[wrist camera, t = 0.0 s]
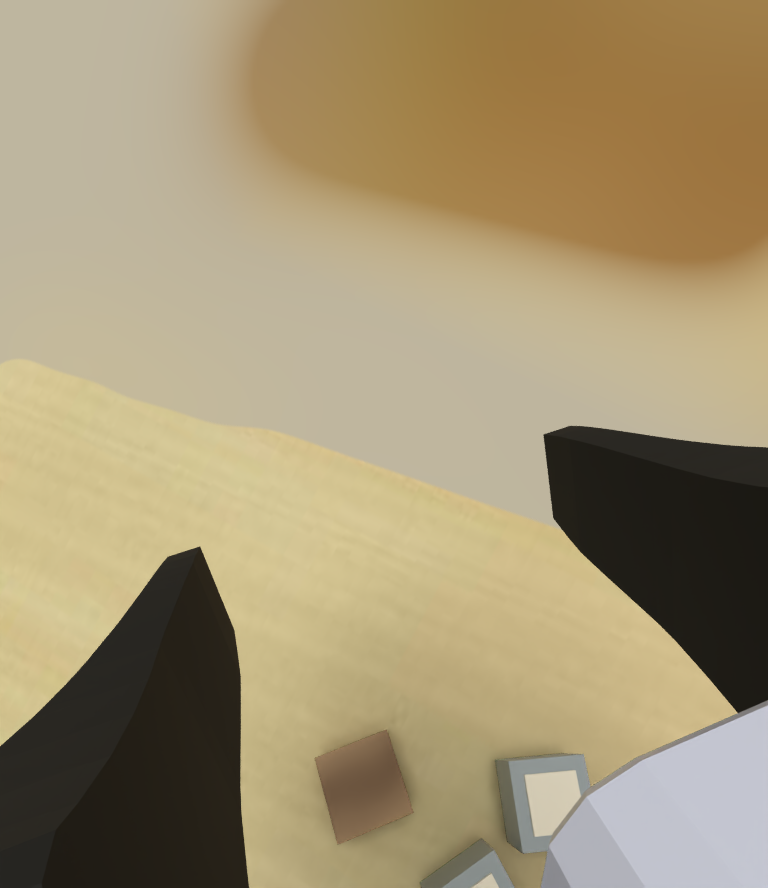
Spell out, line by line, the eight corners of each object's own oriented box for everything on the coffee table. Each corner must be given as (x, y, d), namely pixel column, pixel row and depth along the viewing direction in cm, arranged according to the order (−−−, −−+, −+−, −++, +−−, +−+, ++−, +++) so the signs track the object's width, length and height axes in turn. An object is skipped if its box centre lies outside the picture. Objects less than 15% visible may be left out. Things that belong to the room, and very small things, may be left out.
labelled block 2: (578, 834, 37) (604, 846, 32) (507, 841, 36) (523, 854, 32) (562, 753, 39) (585, 754, 34) (494, 759, 38) (509, 761, 34)
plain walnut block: (409, 805, 37) (413, 812, 33) (342, 833, 37) (337, 844, 33) (385, 730, 39) (386, 729, 35) (321, 756, 38) (314, 757, 34)
